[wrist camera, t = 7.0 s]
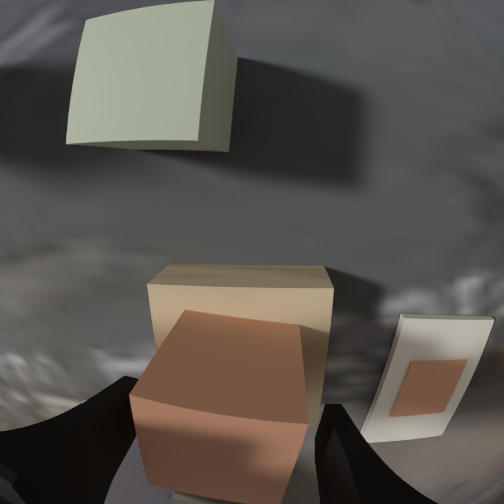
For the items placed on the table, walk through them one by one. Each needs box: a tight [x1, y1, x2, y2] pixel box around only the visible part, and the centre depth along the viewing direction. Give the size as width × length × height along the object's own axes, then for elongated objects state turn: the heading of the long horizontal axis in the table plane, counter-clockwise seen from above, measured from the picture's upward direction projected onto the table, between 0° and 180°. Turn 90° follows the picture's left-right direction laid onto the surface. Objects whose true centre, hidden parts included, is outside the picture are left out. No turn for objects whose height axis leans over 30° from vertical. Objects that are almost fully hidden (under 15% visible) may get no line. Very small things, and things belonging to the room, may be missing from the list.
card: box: [360, 314, 494, 443], centre depth 17 cm, size 10×7×1 cm
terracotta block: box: [129, 310, 308, 504], centre depth 11 cm, size 5×5×6 cm
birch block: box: [147, 264, 334, 426], centre depth 16 cm, size 8×8×4 cm
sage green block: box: [66, 0, 238, 152], centre depth 11 cm, size 5×5×6 cm
